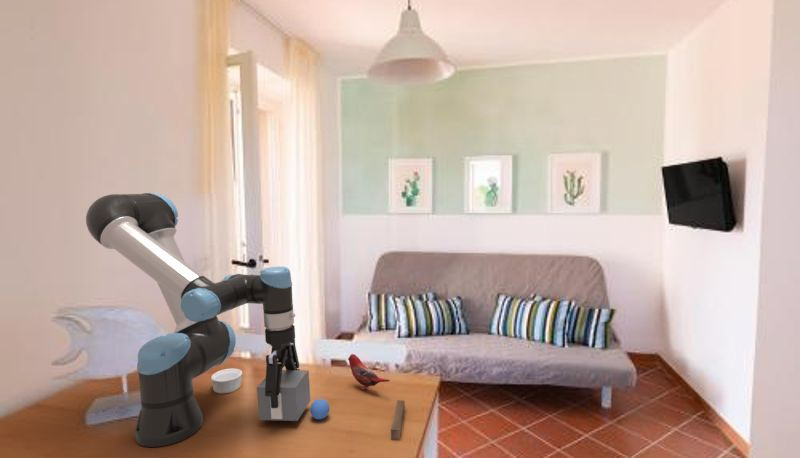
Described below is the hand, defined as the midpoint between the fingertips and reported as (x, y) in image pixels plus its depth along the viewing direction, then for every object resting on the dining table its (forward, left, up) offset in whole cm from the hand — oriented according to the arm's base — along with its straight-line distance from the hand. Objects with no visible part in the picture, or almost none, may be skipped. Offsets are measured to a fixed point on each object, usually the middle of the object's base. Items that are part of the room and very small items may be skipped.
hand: (285, 407), depth 112 cm
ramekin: (-25, +15, -3) cm, 29 cm away
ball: (+9, 0, 0) cm, 9 cm away
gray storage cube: (0, 0, -1) cm, 1 cm away
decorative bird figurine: (+20, +15, -3) cm, 25 cm away
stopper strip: (+30, -1, -3) cm, 31 cm away
